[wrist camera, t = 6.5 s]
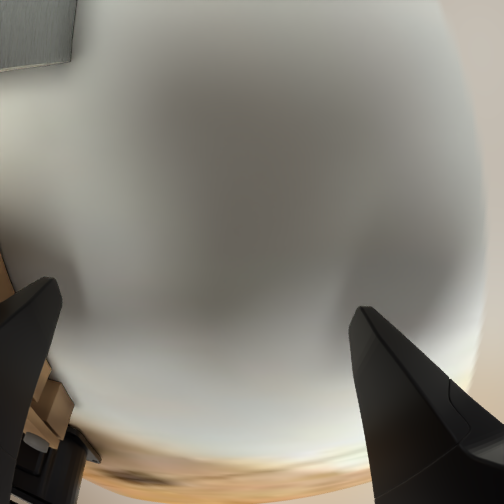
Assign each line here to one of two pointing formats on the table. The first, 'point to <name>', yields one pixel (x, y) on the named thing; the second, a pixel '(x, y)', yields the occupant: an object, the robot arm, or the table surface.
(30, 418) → the bar
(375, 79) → the table surface
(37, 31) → the grey bracket bar
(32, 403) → the base
